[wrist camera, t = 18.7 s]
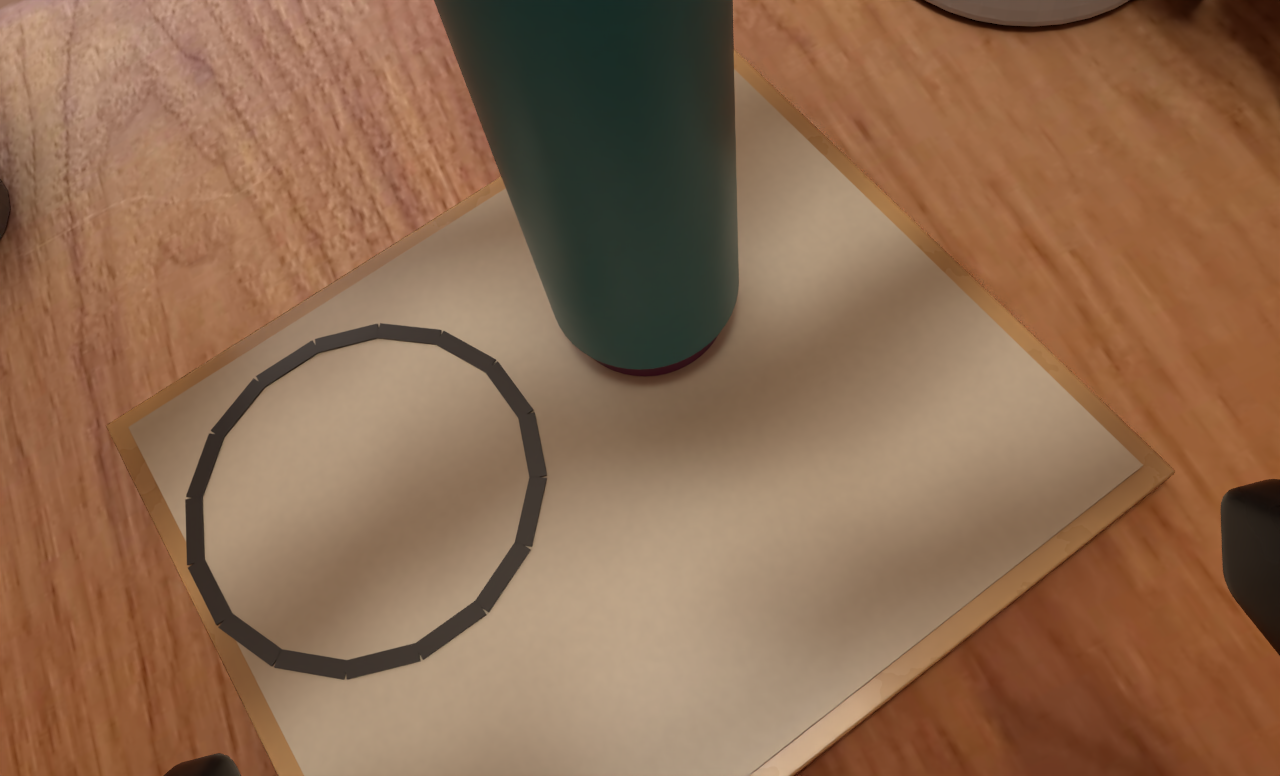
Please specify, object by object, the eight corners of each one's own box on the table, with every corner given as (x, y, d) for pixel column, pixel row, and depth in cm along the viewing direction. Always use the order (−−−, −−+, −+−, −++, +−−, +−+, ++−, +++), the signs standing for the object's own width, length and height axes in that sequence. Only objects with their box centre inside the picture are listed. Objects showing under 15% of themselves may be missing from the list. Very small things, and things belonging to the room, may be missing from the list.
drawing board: (1166, 480, 21) (1180, 468, 21) (431, 1063, 18) (419, 1072, 18) (722, 51, 28) (722, 31, 27) (118, 434, 25) (100, 422, 24)
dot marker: (776, 319, 23) (799, -129, 12) (626, 424, 23) (510, 46, 12) (668, 200, 25) (604, -286, 14) (524, 293, 24) (341, -142, 13)
